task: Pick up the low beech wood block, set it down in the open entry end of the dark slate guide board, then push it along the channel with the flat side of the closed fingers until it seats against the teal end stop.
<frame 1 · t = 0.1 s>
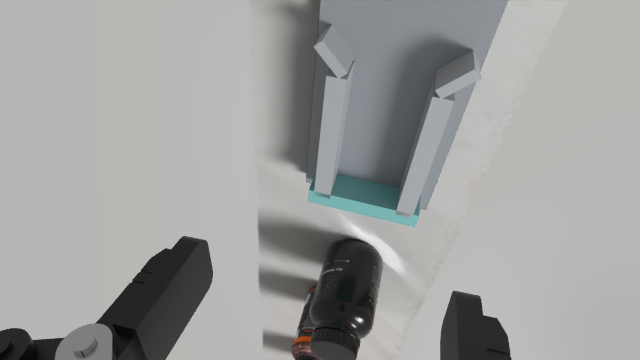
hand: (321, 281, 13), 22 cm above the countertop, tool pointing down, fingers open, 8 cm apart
supplement bottle 2: (330, 295, 54), on the countertop
guide board: (387, 96, 32), on the countertop
supplement bottle: (355, 255, 47), on the countertop
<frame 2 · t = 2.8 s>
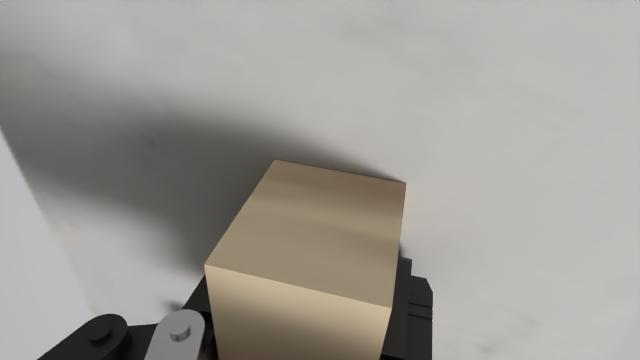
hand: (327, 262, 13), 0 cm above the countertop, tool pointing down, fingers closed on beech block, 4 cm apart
beech block: (330, 255, 14), on the countertop, touching gripper
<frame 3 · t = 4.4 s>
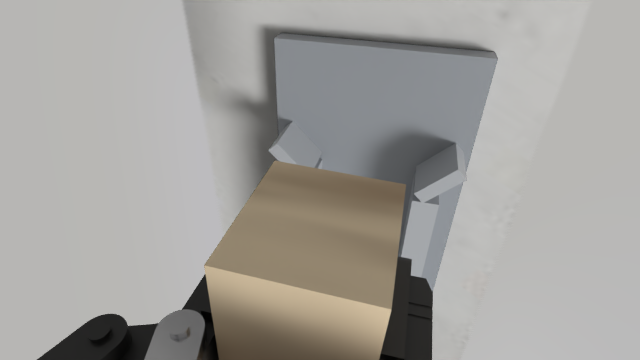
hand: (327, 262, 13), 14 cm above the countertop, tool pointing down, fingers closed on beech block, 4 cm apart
guide board: (365, 192, 28), on the countertop
beech block: (330, 256, 14), point 13 cm above the countertop, touching gripper
when the fingers open (3 cm above the countertop, at t = 6.4 s): beech block drops 1 cm, resting on guide board.
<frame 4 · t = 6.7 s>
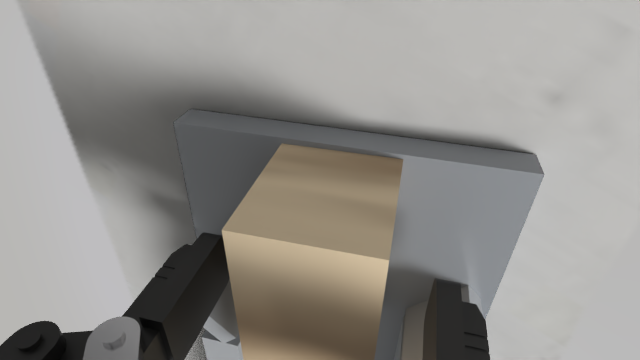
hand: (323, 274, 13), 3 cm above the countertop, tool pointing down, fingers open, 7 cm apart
guide board: (335, 321, 19), on the countertop
beech block: (336, 233, 15), point 1 cm above the countertop, touching guide board
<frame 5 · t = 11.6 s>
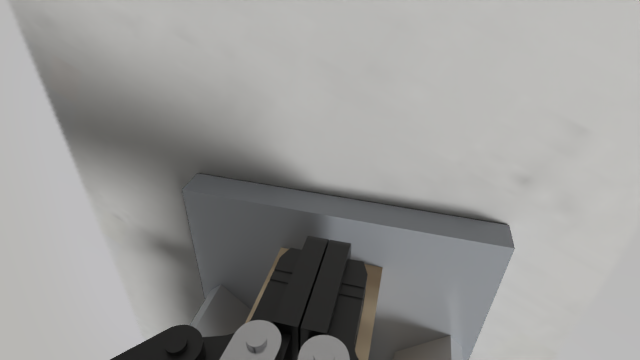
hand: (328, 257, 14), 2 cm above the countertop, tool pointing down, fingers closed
guide board: (330, 356, 21), on the countertop
beech block: (327, 315, 17), point 1 cm above the countertop, touching gripper, guide board
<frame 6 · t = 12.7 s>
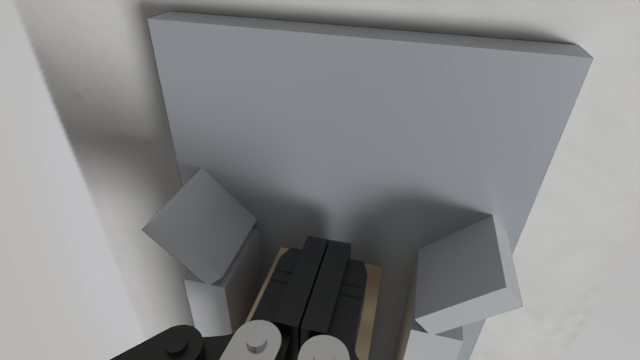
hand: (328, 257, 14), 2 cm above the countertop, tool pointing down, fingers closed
guide board: (336, 275, 17), on the countertop
beech block: (327, 314, 17), point 1 cm above the countertop, touching guide board
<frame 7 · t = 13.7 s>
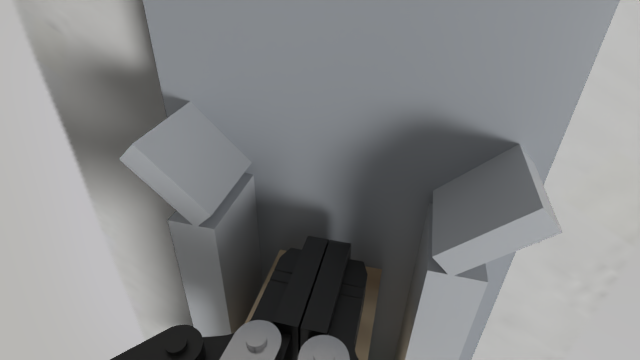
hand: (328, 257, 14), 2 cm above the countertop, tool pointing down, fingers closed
guide board: (340, 233, 16), on the countertop
beech block: (326, 317, 17), point 1 cm above the countertop, touching gripper, guide board
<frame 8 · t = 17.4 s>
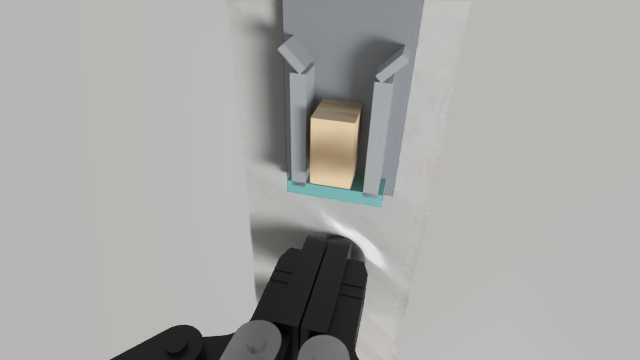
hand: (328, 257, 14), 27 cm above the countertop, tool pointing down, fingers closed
guide board: (346, 93, 39), on the countertop
beech block: (340, 133, 40), point 1 cm above the countertop, touching guide board
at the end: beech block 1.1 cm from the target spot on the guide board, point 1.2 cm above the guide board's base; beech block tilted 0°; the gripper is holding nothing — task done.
